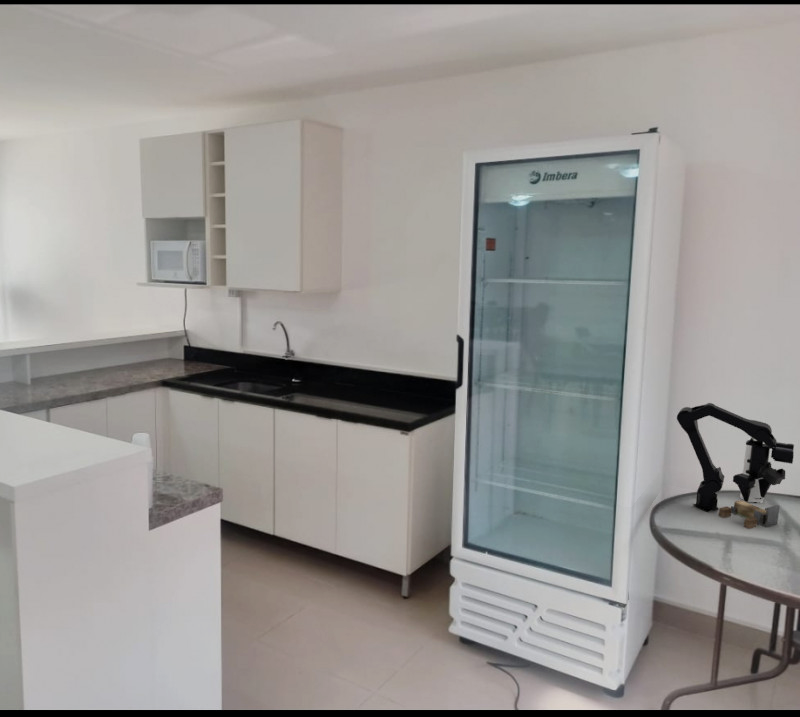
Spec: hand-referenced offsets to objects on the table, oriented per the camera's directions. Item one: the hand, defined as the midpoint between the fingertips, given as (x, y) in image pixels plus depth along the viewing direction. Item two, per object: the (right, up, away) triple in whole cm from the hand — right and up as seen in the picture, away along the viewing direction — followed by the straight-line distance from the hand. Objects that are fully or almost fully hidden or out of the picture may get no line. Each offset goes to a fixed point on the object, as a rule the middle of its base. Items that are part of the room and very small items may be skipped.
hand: (754, 499), depth 232 cm
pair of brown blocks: (-7, -7, -2) cm, 11 cm away
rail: (0, -6, +1) cm, 7 cm away
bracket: (0, -7, +1) cm, 7 cm away
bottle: (+9, -4, +18) cm, 21 cm away
